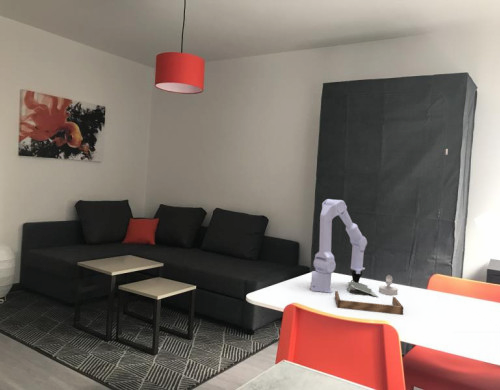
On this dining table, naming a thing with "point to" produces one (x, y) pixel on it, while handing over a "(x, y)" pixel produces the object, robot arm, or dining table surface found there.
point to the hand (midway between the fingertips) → (355, 285)
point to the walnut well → (370, 305)
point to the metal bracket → (360, 287)
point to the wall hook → (388, 287)
